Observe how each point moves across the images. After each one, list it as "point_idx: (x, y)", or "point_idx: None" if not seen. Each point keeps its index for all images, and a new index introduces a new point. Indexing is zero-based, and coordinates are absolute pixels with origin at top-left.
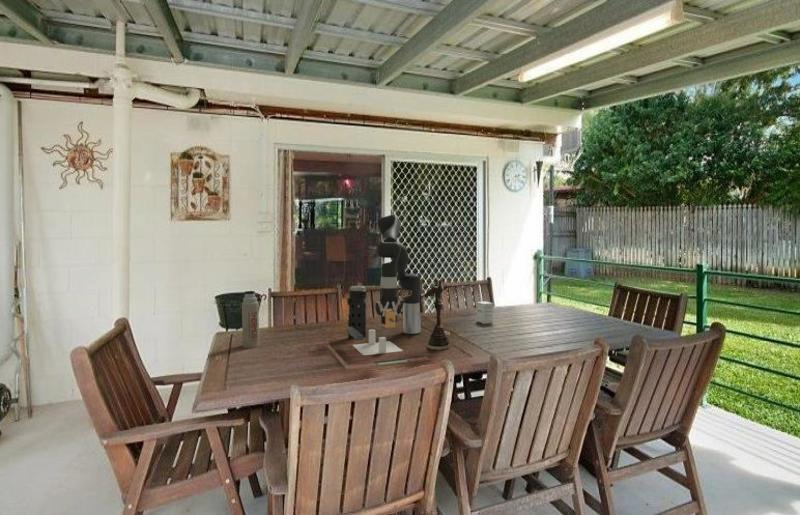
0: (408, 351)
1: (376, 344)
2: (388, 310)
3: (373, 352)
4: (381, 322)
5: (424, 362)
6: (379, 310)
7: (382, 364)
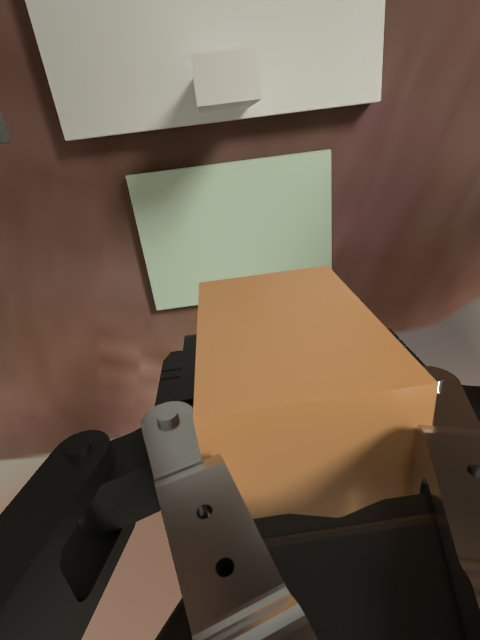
0: (433, 42)
1: None
2: (329, 436)
3: (149, 81)
4: (170, 353)
5: (410, 306)
6: (83, 601)
7: (183, 304)
